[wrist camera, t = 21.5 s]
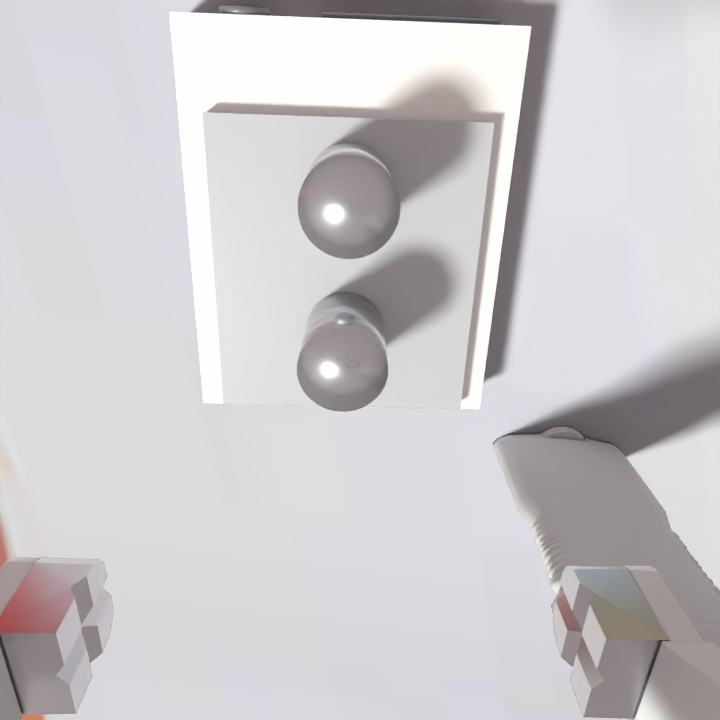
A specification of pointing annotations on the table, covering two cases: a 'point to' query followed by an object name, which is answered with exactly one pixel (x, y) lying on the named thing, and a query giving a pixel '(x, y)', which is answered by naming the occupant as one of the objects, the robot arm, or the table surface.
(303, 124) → the white rimmed tray
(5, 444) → the table surface
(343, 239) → the cylinder
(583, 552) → the tall pale column
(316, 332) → the cylinder
